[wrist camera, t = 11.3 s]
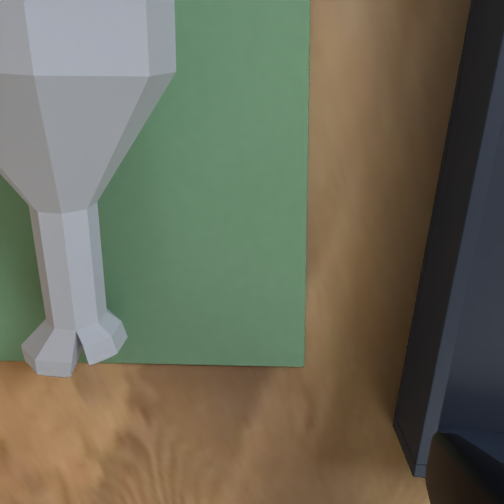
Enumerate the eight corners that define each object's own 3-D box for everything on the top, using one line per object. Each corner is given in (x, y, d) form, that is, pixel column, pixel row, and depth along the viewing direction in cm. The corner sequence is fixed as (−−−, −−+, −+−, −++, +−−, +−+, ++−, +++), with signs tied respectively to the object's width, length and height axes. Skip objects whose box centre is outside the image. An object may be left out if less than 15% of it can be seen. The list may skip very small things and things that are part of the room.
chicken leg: (-9, 325, 22) (-51, 464, 15) (-109, -147, 14) (-291, -322, 7) (164, 304, 25) (199, 414, 17) (154, -103, 17) (207, -202, 10)
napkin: (304, 364, 21) (304, 367, 20) (-68, 356, 22) (-73, 359, 22) (311, -112, 17) (312, -117, 16) (-148, -89, 18) (-156, -93, 17)
